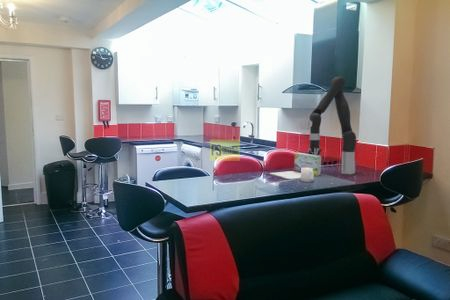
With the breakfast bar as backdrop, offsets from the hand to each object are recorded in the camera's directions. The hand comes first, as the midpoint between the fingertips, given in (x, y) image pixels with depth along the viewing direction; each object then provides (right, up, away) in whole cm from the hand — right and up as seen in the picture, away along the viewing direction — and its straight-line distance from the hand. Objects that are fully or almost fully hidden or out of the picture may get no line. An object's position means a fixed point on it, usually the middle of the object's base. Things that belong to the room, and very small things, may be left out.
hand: (314, 161), depth 287 cm
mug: (-12, -13, -31) cm, 35 cm away
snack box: (-6, -10, -2) cm, 12 cm away
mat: (-20, -10, -8) cm, 24 cm away
